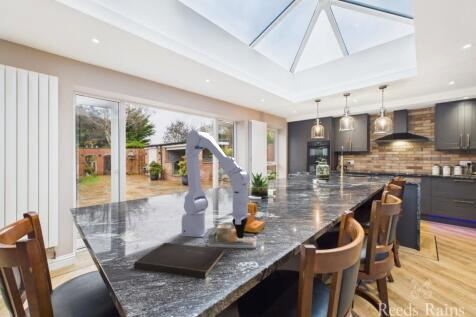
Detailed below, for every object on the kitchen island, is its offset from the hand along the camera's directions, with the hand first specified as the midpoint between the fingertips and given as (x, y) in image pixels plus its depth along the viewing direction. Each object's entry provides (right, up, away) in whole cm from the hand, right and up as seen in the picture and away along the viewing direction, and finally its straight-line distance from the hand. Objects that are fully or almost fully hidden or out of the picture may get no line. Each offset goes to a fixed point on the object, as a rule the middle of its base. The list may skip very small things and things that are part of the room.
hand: (240, 237), depth 86 cm
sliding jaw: (-3, -1, 0) cm, 3 cm away
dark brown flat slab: (-19, -3, -15) cm, 24 cm away
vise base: (-3, -2, 0) cm, 3 cm away
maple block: (-6, -1, +1) cm, 6 cm away
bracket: (+6, -2, +15) cm, 17 cm away
